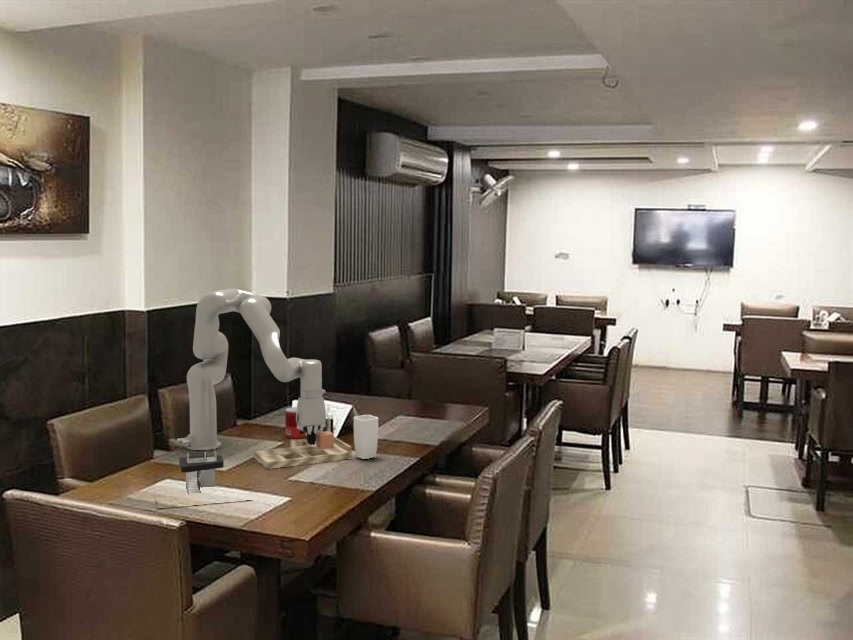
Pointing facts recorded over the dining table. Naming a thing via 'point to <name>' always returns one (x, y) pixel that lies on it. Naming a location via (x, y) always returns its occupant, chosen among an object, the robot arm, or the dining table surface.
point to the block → (325, 440)
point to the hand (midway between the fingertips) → (311, 443)
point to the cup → (365, 436)
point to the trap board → (302, 455)
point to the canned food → (292, 425)
